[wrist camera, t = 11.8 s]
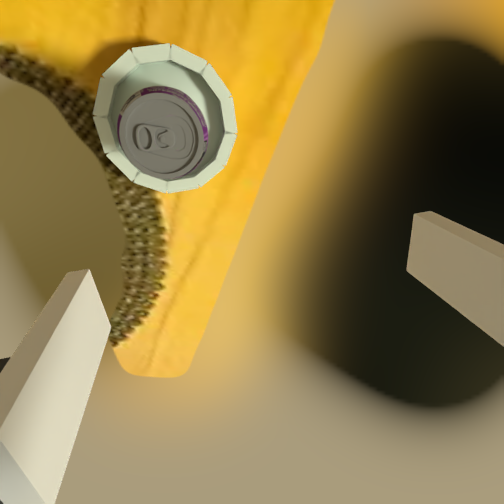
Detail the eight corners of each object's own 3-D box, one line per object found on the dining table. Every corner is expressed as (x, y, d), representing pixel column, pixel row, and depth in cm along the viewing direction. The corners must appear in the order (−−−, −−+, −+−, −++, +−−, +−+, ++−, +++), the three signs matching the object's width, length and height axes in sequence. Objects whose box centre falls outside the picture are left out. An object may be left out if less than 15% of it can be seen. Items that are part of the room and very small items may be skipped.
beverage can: (138, 157, 36) (119, 185, 25) (130, 85, 33) (104, 83, 22) (203, 157, 37) (211, 184, 26) (201, 88, 34) (208, 87, 23)
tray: (80, 57, 32) (72, 55, 29) (221, 40, 33) (224, 36, 31) (123, 195, 38) (120, 201, 36) (240, 175, 40) (243, 180, 37)
